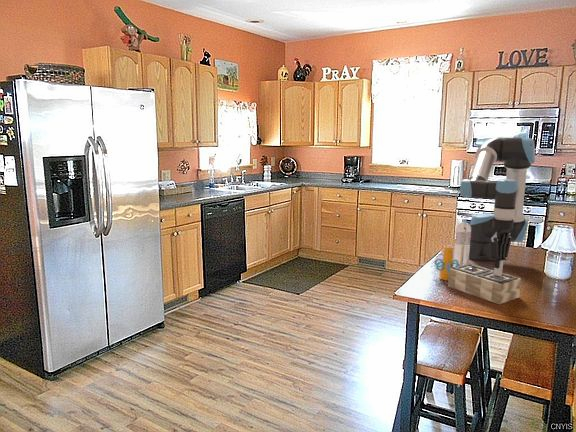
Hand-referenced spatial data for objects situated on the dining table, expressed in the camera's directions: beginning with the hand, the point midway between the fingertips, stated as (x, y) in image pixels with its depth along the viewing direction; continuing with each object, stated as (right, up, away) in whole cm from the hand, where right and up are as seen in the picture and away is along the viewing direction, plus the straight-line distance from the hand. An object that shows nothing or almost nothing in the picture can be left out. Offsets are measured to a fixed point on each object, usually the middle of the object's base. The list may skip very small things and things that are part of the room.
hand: (497, 275), depth 184 cm
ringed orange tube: (-13, -5, +23) cm, 27 cm away
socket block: (-3, -8, +7) cm, 11 cm away
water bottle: (-1, -2, +36) cm, 36 cm away
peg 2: (0, -8, +2) cm, 8 cm away
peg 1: (-7, -6, +12) cm, 15 cm away
